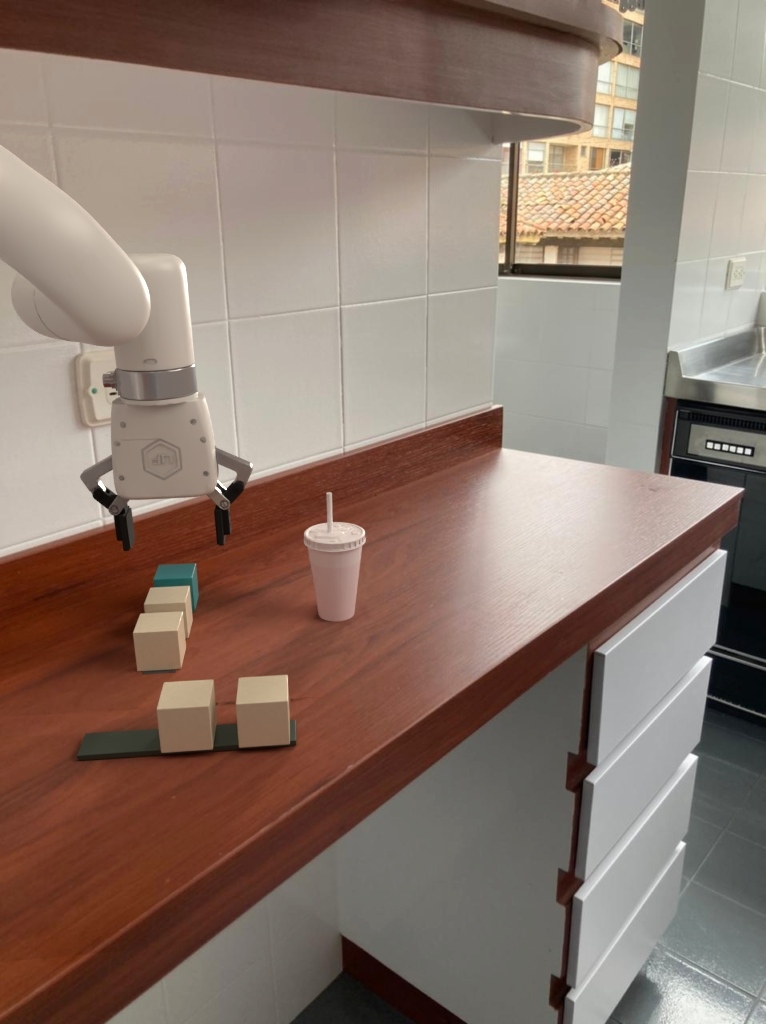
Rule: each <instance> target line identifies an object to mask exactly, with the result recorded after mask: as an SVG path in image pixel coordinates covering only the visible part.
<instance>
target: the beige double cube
mask: <svg viewBox="0 0 766 1024" xmlns="http://www.w3.org/2000/svg"><path fill="white" fill-rule="evenodd" d="M143 611H144V612H143V613H142V612H141V613H139V616H138V618H137V621H136V623H135V627H134V629H133V630H132V631H133V632H132V638H133V646H134V655H135V661H136V662H135V665H136V671H137V672H142V674H141V675H158V674H159V675H160V674H171V673H172V674H174V673H176V670H182V667H183V663H184V658H185V655H186V651H187V643H186V642H187V641H186V639H190V638H189V637H190V634H191V631H192V626H193V621H194V617H193V612H192V605H191V593H190V586H175V587H154V586H153V587H149V590H148V593H147V595H146V597H145V600H144V603H143Z"/></svg>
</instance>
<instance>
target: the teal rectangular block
mask: <svg viewBox="0 0 766 1024" xmlns="http://www.w3.org/2000/svg"><path fill="white" fill-rule="evenodd" d="M197 570H198V569H197V563H195V562H194V563H174V564H171V563H170V564H159V565H158V567H157V569H156V571H155V574H154V577H153V579H152V581H153V588H154V587H175V586H190V593H191V605H192V613H195V612H196V609H197V605H198V600H199V596H200V595H199V583H198V582H199V581H198V573H197V572H198V571H197Z"/></svg>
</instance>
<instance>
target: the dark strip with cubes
mask: <svg viewBox="0 0 766 1024" xmlns="http://www.w3.org/2000/svg"><path fill="white" fill-rule="evenodd" d="M161 687H162V688H161V690H160V695H159V699H158V702H157V706H156V719H157V720H156V721H157V728H147V729H146V728H145V729H131V730H115V731H101V732H100V731H99V732H88V733H87V732H86V733H85V734H84V735H83V739H82V741H81V744H80V746H79V749H78V752H77V753H76V761H78V762H80V761H94V760H95V761H96V760H108V759H109V760H110V759H122V758H137V757H149V756H150V757H152V756H165V755H180V754H182V755H183V754H193V753H195V754H196V753H208V752H209V753H210V752H223V751H237V750H251V749H267V748H280V747H281V748H282V747H296V746H297V719H291V712H290V695H289V694H290V693H289V692H290V691H289V675H288V674H277V675H276V674H275V675H261V676H260V675H259V676H245V677H243V676H242V677H238V679H237V688H236V689H237V690H236V691H237V692H236V698H235V715H236V723H223V724H222V723H221V724H217V723H218V715H217V704H216V692H215V681H214V678H213V679H211V678H210V679H196V680H179V681H164V682H163V684H162V686H161Z"/></svg>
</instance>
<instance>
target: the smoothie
mask: <svg viewBox="0 0 766 1024" xmlns="http://www.w3.org/2000/svg"><path fill="white" fill-rule="evenodd" d="M325 494H326V522H322V523H318V524H315V525H311V526H309V527H308V528H306V529H305V530H304V532H303V544H304V545H305V547H307V554H308V560H309V564H310V565H309V566H310V571H311V576H312V582H313V588H314V595H315V601H316V606H317V607H316V608H317V614H318V616H319V618H320V619H322V620H324V621H327V622H344V621H348V620H350V619H351V618H353V617H354V615H355V611H356V601H357V595H358V594H357V593H358V584H359V578H360V577H359V576H360V568H361V560H362V550H363V546H364V545H365V543H366V541H367V540H366V531H365V529H364V528H363V527H362V526H359V525H358V524H355V523H352V522H351V523H350V522H344V521H343V522H341V521H333V520H334V519H333V518H334V517H333V493H332V492H331V491H327V492H326V493H325Z"/></svg>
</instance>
